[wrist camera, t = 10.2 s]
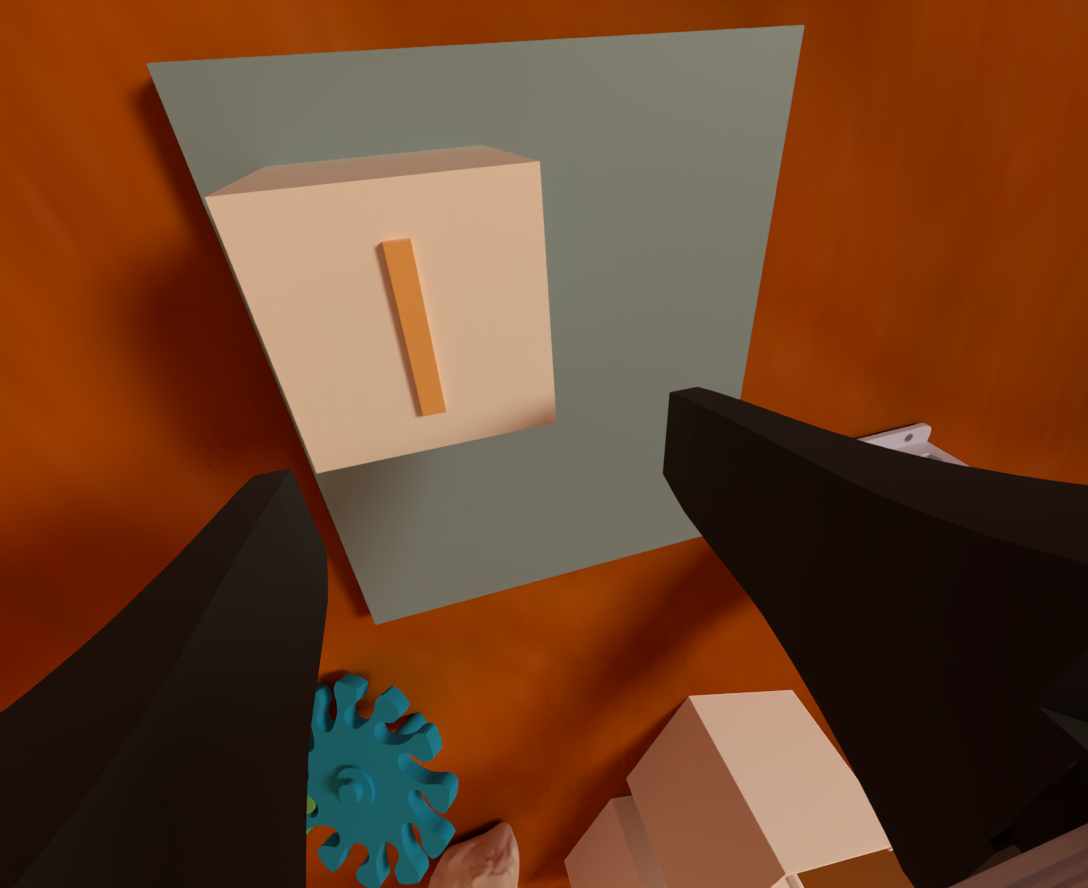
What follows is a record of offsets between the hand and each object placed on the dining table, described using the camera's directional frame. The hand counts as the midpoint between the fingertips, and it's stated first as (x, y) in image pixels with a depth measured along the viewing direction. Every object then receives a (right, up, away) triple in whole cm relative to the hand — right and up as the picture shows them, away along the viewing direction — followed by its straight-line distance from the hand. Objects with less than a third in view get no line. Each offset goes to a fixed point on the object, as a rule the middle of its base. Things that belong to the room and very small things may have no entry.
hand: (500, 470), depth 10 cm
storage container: (+12, -29, +35) cm, 47 cm away
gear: (-9, -14, +18) cm, 24 cm away
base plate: (+1, +3, +10) cm, 10 cm away
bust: (-5, -32, +31) cm, 44 cm away
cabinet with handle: (-3, +6, +5) cm, 8 cm away
